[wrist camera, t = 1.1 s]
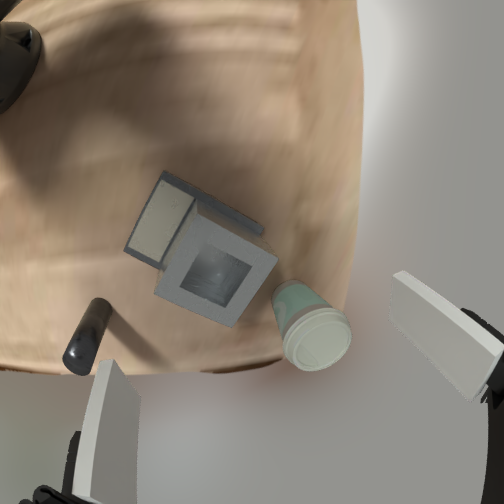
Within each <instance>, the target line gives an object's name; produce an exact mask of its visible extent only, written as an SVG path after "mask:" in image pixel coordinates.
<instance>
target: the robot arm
mask: <svg viewBox="0 0 504 504" xmlns="http://www.w3.org/2000/svg"><path fill="white" fill-rule="evenodd" d="M21 1H22V0H0V114H1V113H2V112H4V111H5V110H6V109H8V108H9V107H10V106H11V105H12V104H13V103H14V102H15V100H16V99H17V98H18V97H19V95H20V94H21V93H22V91H23V90H24V88H25V87H26V85H27V83H28V82H29V80H30V78H31V76H32V74H33V72H34V69H35V67H36V64H37V61H38V58H39V54H40V48H41V39H40V35H39V33H38V31H37V30H36V29H35V28H34V27H32V26H31V25H29V24H28V23H25V22H1V21H2V20H3V19H4V18H5V17H6V16H7V15H8V14H9V13H10V12H11V11H12V10H13V9H14V8H15V7H16V6H17V5H18V4H19V3H20V2H21ZM389 321H390V322H391V323H392V324H393V325H394V326H395V327H396V328H397V329H398V330H399V331H401V333H402V334H403V335H404V336H405V337H406V338H408V339H409V340H410V341H411V342H412V343H413V344H414V345H415V346H416V347H417V348H418V349H419V350H420V351H421V352H422V353H423V354H424V355H425V356H426V357H427V358H428V359H429V360H430V361H431V362H432V363H433V365H434V366H436V368H437V369H438V370H439V371H440V372H441V373H442V374H443V375H444V376H445V377H446V378H447V379H448V380H449V381H450V382H451V383H452V384H453V385H454V386H455V387H456V388H457V390H458V391H459V392H460V393H461V394H462V395H463V396H464V397H465V398H466V399H467V400H468V402H471V401H472V400H473V399H474V398H475V397H476V396H478V395H479V393H481V391H482V389H483V388H484V386H485V384H487V385H488V386H489V387H488V388H487V390H486V392H485V393H484V395H483V396H482V398H481V403H483V402H484V400H485V399H486V397H487V399H486V402H485V403H488V425H489V426H488V454H487V466H486V475H485V482H484V489H483V495H482V500H481V504H504V336H503V335H502V334H501V333H500V332H499V331H497V330H496V329H495V328H494V327H492V326H491V325H490V324H487V322H486V321H485V320H483V319H481V318H480V317H479V316H478V315H477V314H475V313H474V312H472V311H470V310H467V309H464V308H462V309H458V308H457V307H455V306H454V305H453V304H451V303H450V302H448V301H447V300H446V299H444V298H443V297H442V296H440V295H439V294H438V293H436V292H435V291H433V290H432V289H430V288H429V287H428V286H426V285H425V284H423V283H422V282H420V281H419V280H417V279H416V278H415V277H413V276H412V275H410V274H409V273H407V272H406V271H404V270H403V271H401V272H398V273H396V274H394V275H392V287H391V301H390V311H389ZM140 403H141V396H140V395H139V394H138V392H137V391H136V390H135V388H134V387H133V386H132V384H131V383H130V381H129V380H128V379H127V377H126V376H125V375H124V373H123V372H122V370H121V369H120V367H119V366H118V364H117V363H116V361H115V360H114V359H109V360H104V361H100V363H99V366H98V369H97V373H96V376H95V380H94V383H93V387H92V390H91V394H90V398H89V402H88V406H87V410H86V414H85V419H84V423H83V427H82V431H76V432H75V434H74V435H73V437H72V439H71V440H70V445H69V450H68V452H69V454H68V455H67V462H66V466H65V472H64V479H63V486H62V492H61V493H59V492H58V491H56V490H54V489H52V488H51V487H49V486H47V485H41V486H39V487H38V488H37V489H36V490H35V491H34V494H33V502H31V501H30V500H28V499H23V500H21V501H20V503H19V504H137V445H138V429H139V414H140Z"/></svg>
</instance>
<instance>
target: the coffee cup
mask: <svg viewBox="0 0 504 504" xmlns="http://www.w3.org/2000/svg"><path fill="white" fill-rule="evenodd" d="M271 303H272V307H273V310H274V314H275V317H276V320H277V324H278V327H279V330H280V334H281V337H282V340H283V352H284V355H285V356H286V358H287V359H288V360H289V361H290V362H291V363H292V364H294V365H296V366H297V367H298V368H299V369H301V370H304V371H318V370H322V369H325V368H327V367H329V366H331V365H333V364H334V363H336V362H337V361H338V360H339V359H340V358H341V357H342V356H343V355H344V354H345V353H346V351H347V350H348V348H349V346H350V343H351V339H352V333H351V330H350V324H349V321H348V320H347V317H346V316H345V314H344V313H343V312H341V311H340V310H337V309H334V308H333V307H332V306H331V305H329V304H328V303H327V302H326V301H325V300H323V299H322V298H321V297H320V296H319V295H317V294H316V293H315V292H314V291H313V290H311V289H310V288H309V287H308V286H307V285H305V284H304V283H303V282H301V281H298V280H289V281H286V282H284V283H282V284H280V285H279V286H278V287H277V288H276V289H275V291H274V292H273V294H272V298H271Z"/></svg>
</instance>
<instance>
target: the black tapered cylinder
mask: <svg viewBox="0 0 504 504" xmlns="http://www.w3.org/2000/svg"><path fill="white" fill-rule="evenodd" d="M111 315H112V307H111V305H110V303H109V302H108V301H106V300H105V299H102V298H95V299H93V300H92V301H91V303H90V304H89V306H88V308H87V310H86V312H85V313H84V315H83V317H82V319H81V321H80V323H79V325H78V327H77V328H76V330H75V332H74V334H73V336H72V338H71V340H70V342H69V344H68V346H67V348H66V351H65V353H64V355H63V358H62V359H63V363H64V365H65V366H66V367H67V369H69V370H70V371H71V372H73V373H74V374H77V375H81V376H85V375H88V374H89V373H90V371H91V368H92V366H93V363H94V360H95V357H96V354H97V351H98V348H99V346H100V343H101V340H102V338H103V335H104V332H105V330H106V327H107V325H108V322H109V320H110V317H111Z"/></svg>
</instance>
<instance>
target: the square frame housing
mask: <svg viewBox="0 0 504 504" xmlns="http://www.w3.org/2000/svg"><path fill="white" fill-rule="evenodd" d="M263 230H264V227H263V226H262V225H260V224H258V223H257V222H255V221H253V220H252V219H250V218H248V217H247V216H245V215H243V214H241V213H240V212H238V211H236V210H235V209H233V208H231V207H229V206H228V205H226V204H224V203H222V202H221V201H219V200H217V199H215V198H214V197H212V196H210V195H208V194H207V193H205V192H203V191H201V190H200V189H198V188H196V187H194V186H193V185H191V184H189V183H187V182H185V181H184V180H182V179H180V178H178V177H176V176H175V175H173V174H171V173H169V172H167V171H166V170H164V171H163V173H162V174H161V176H160V178H159V180H158V182H157V184H156V185H155V187H154V189H153V191H152V193H151V195H150V197H149V199H148V200H147V202H146V204H145V206H144V208H143V210H142V212H141V214H140V216H139V218H138V220H137V222H136V224H135V227H134V229H133V231H132V233H131V235H130V237H129V239H128V242H127V244H126V246H125V248H124V252H126V253H128V254H130V255H132V256H134V257H136V258H138V259H139V260H141V261H143V262H145V263H147V264H149V265H151V266H153V267H155V268H157V269H159V274H158V278H157V282H156V286H155V290H154V294H155V295H157V296H159V297H161V298H163V299H166V300H168V301H170V302H172V303H174V304H177V305H179V306H181V307H183V308H185V309H188V310H190V311H192V312H195V313H197V314H199V315H202V316H204V317H206V318H209V319H211V320H213V321H216V322H218V323H221V324H223V325H226V326H228V327H231V328H232V327H233V326H234V324H235V323H236V321H237V320H238V318H239V317H240V316H241V314H242V313H243V311H244V310H245V308H246V307H247V305H248V304H249V303H250V301H251V300H252V298H253V297H254V295H255V294H256V292H257V291H258V289H259V288H260V286H261V285H262V284H263V282H264V281H265V279H266V278H267V276H268V275H269V273H270V272H271V270H272V269H273V267H274V266H275V264H276V263H277V261H278V260H279V258H278V257H277V255H276V254H275V253H274V252H273V250H272V249H271V248H270V247H269V245H268V244H267V243H266V242H265V240H264V239H263V238H262V237H261V235H260V234H261V233H262V231H263Z"/></svg>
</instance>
